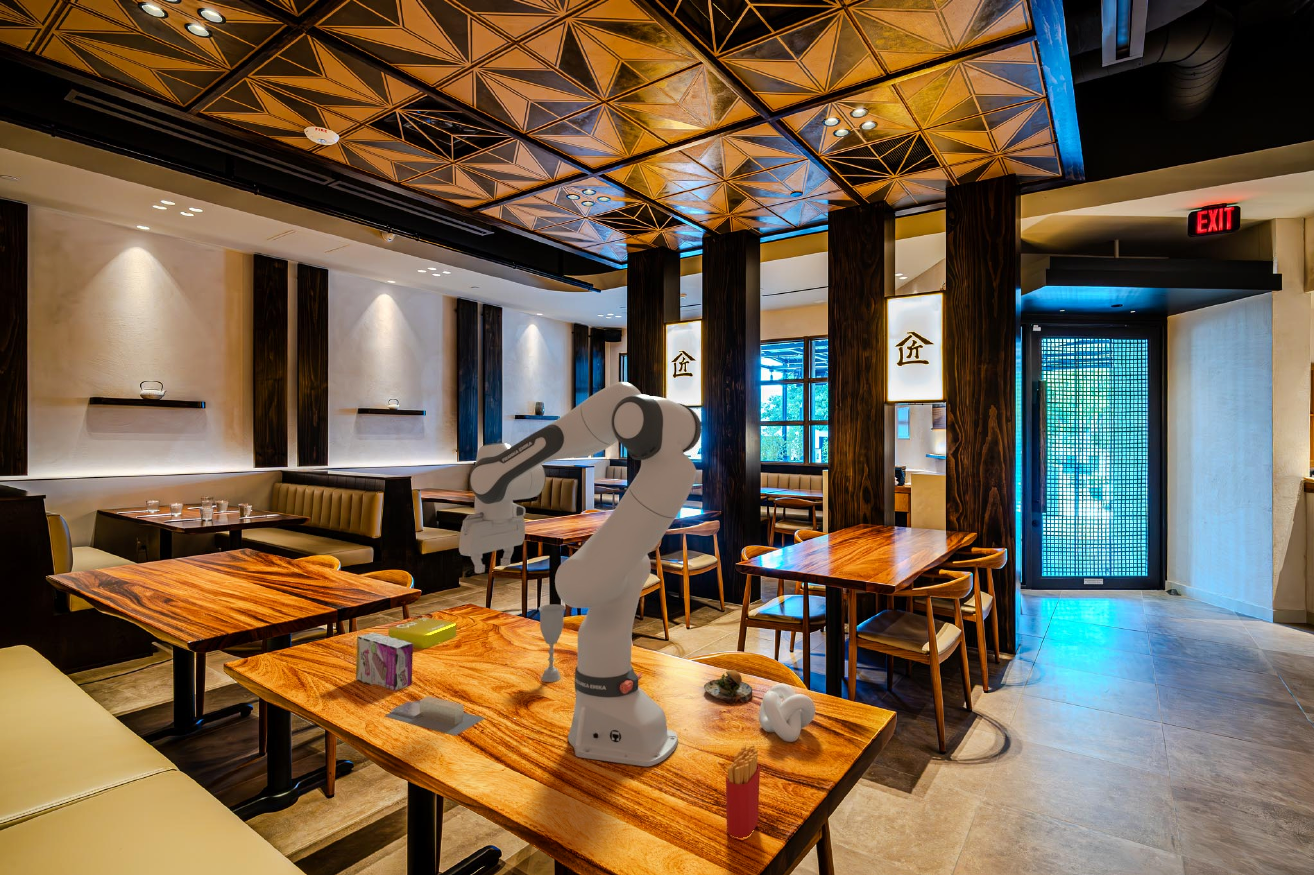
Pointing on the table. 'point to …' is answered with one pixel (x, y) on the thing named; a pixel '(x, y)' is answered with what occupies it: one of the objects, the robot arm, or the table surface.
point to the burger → (730, 688)
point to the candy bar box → (384, 661)
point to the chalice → (551, 635)
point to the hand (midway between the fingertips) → (492, 569)
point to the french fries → (743, 793)
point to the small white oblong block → (432, 710)
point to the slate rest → (439, 726)
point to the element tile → (424, 632)
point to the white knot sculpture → (785, 712)
